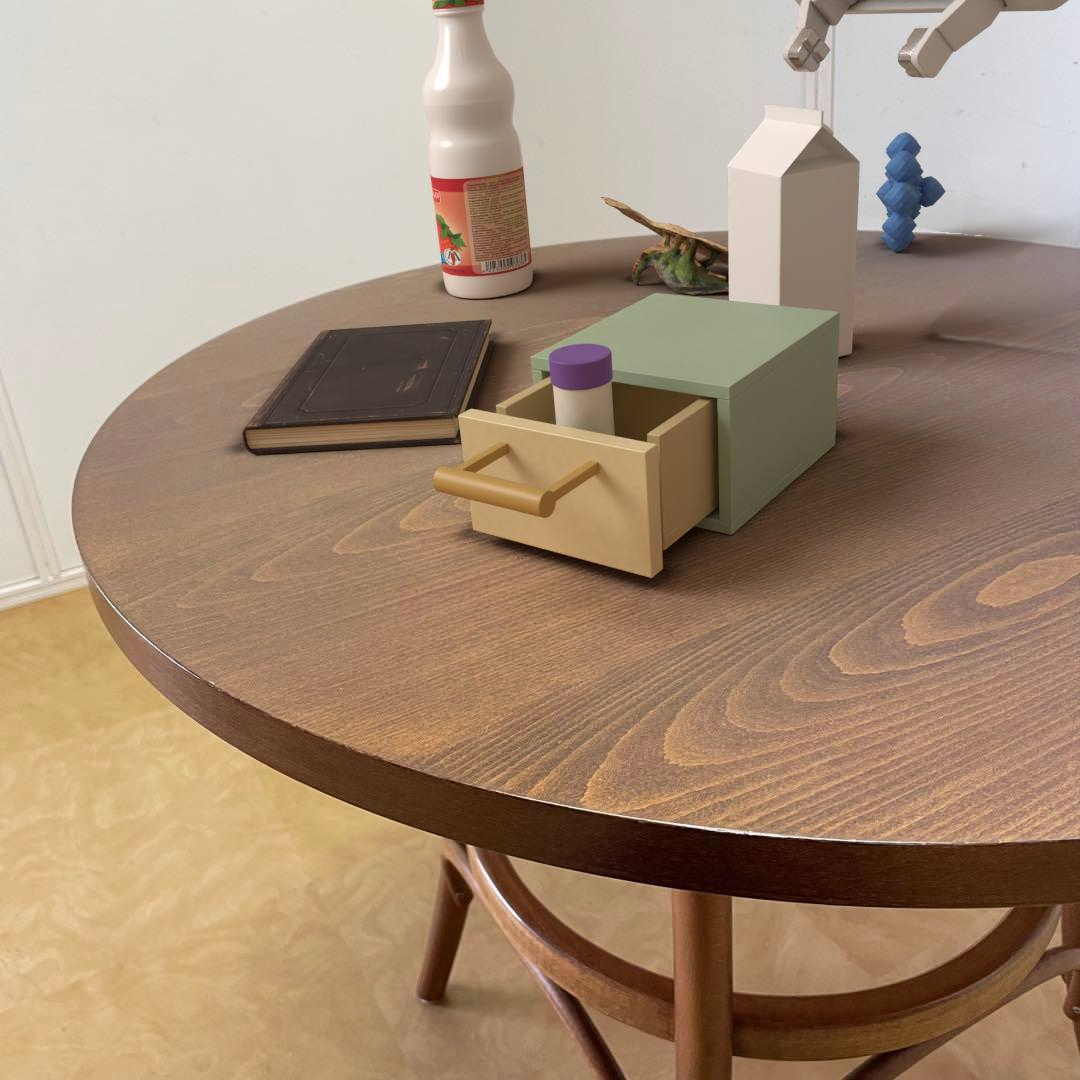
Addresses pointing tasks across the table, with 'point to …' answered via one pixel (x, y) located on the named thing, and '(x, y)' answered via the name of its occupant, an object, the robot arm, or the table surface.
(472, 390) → the hardcover book
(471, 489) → the drawer
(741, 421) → the cabinet
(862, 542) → the table surface
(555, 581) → the table surface
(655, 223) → the green animal figurine
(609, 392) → the glue stick
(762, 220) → the milk carton
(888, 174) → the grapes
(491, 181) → the fruit juice
